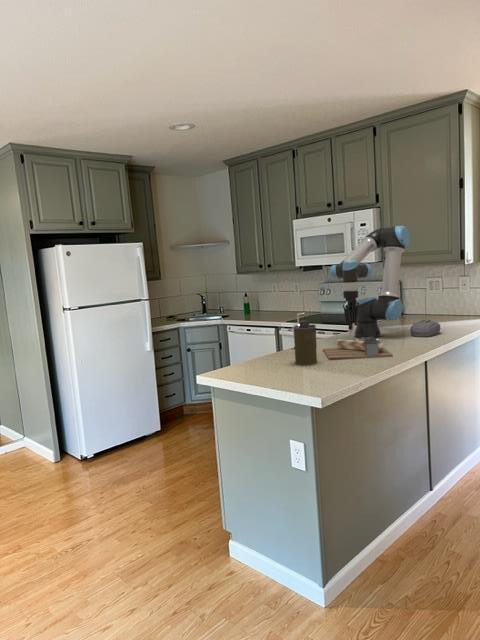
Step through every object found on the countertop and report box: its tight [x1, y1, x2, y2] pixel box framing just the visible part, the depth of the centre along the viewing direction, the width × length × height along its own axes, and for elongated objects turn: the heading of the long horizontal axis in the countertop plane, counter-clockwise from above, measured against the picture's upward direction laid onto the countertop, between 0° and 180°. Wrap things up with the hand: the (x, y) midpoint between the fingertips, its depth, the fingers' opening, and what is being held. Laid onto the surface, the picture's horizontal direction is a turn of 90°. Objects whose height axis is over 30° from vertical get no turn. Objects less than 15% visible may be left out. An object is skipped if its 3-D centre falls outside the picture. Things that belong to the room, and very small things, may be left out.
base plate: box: [322, 347, 394, 361], centre depth 240 cm, size 24×30×1 cm
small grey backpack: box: [409, 319, 441, 338], centre depth 279 cm, size 15×8×20 cm
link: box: [336, 339, 384, 352], centre depth 242 cm, size 24×5×4 cm, turn 48°
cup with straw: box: [290, 312, 307, 336], centre depth 263 cm, size 8×9×20 cm
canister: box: [292, 320, 318, 366], centre depth 226 cm, size 11×10×20 cm
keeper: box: [360, 337, 379, 356], centre depth 234 cm, size 12×6×7 cm, turn 178°
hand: (351, 335), depth 253 cm, fingers closed
